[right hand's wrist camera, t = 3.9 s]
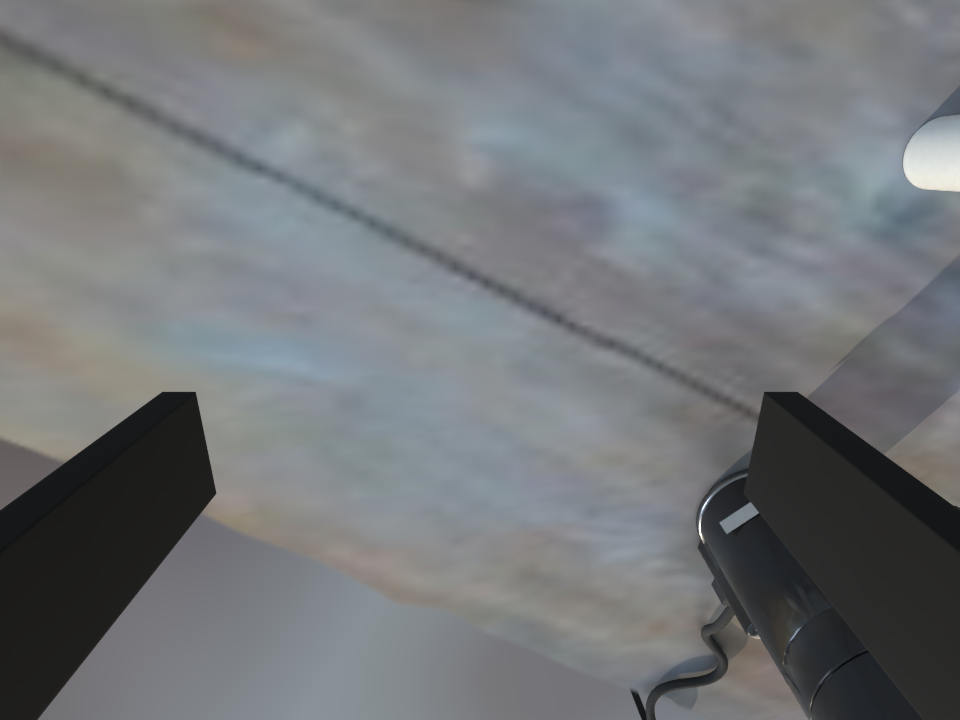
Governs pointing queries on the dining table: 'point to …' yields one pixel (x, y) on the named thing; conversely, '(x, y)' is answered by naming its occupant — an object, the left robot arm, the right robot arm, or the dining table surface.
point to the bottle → (935, 155)
